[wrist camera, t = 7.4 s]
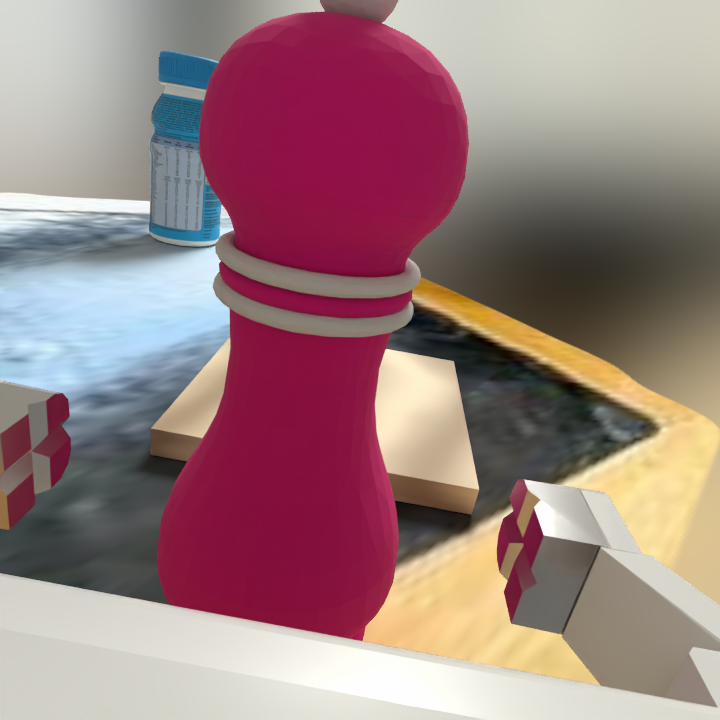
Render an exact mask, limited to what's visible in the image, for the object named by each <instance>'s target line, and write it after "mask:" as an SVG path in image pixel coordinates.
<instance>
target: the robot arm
mask: <svg viewBox="0 0 720 720" xmlns="http://www.w3.org/2000/svg"><path fill="white" fill-rule="evenodd" d="M68 418H69V404H68V399H67V398H66V397H65V396H64V394H63V393H59V392H54V391H49V390H44V389H39V388H35V387H30V386H25V385H20V384H15V383H10V382H6V381H2V380H0V528H2V529H8V530H10V529H11V528H12V527H13V526H14V525H15V524H16V523H17V522H18V521H19V520H20V519H21V518H22V517H23V516H24V515H25V514H26V513H27V512H28V511H29V510H30V509H31V508H32V507H33V506H34V505H35V494H37V493H40V492H43V491H45V490H48V489H51V488H52V487H53V486H54V485H55V484H56V483H57V482H58V480H59V479H60V478H61V477H62V475H63V473H64V471H65V469H66V467H67V465H68V462H69V456H70V451H71V442H70V437H69V435H68V434H67V433H66V431H65V430H64V428H63V427H62V426H61V425H62V424H63V423H64V422H65V421H66V420H67V419H68ZM510 500H511V503H512V507H513V510H514V511H513V512H512V513H510V514H509V515H508V516H506V517H505V518H504V519H503V521H502V525H501V528H500V531H499V536H498V544H497V561H498V566H499V571H500V573H501V574H502V575H503V576H504V577H505V578H506V579H507V580H508V582H507V585H506V587H505V590H504V594H505V599H506V603H507V607H508V612H509V616H510V621H511V624H516V625H520V626H525V627H530V628H534V629H539V630H543V631H548V632H553V633H557V634H562V635H563V636H562V637H563V639H564V640H565V641H566V642H567V644H568V645H569V646H570V647H571V649H572V650H573V651H574V652H575V654H576V655H577V656H578V657H579V659H580V660H581V661H582V662H583V664H584V665H585V666H586V667H587V668H588V670H589V671H590V672H591V673H592V675H593V676H594V677H595V678H596V680H597V681H598V682H599V683H600V685H601V686H599V685H594V684H589V683H583V682H578V681H573V680H567V679H562V678H556V677H551V676H546V675H540V674H535V673H530V672H524V671H519V670H514V669H508V668H503V667H498V666H492V665H487V664H482V663H476V662H471V661H466V660H460V659H455V658H450V657H444V656H439V655H434V654H428V653H423V652H417V651H412V650H407V649H401V648H396V647H391V646H385V645H380V644H375V643H369V642H364V641H359V640H353V639H348V638H343V637H337V636H332V635H327V634H321V633H316V632H311V631H305V630H300V629H295V628H289V627H284V626H278V625H273V624H268V623H262V622H257V621H252V620H246V619H241V618H236V617H230V616H225V615H220V614H214V613H209V612H204V611H198V610H193V609H188V608H182V607H177V606H172V605H166V604H161V603H156V602H150V601H145V600H139V599H134V598H129V597H123V596H118V595H113V594H107V593H102V592H97V591H91V590H86V589H81V588H75V587H70V586H65V585H59V584H54V583H49V582H43V581H38V580H33V579H27V578H22V577H17V576H11V575H6V574H1V573H0V720H720V606H719V605H718V604H717V603H715V602H714V601H713V600H711V599H710V598H708V597H707V596H706V595H704V594H703V593H701V592H700V591H699V590H698V589H696V588H695V587H693V586H692V585H690V584H689V583H688V582H687V581H685V580H684V579H682V578H681V577H680V576H678V575H677V574H676V573H674V572H673V571H672V570H670V569H669V568H667V567H666V566H665V565H663V564H662V563H661V562H659V561H658V560H657V559H655V558H654V557H652V556H649V555H644V554H642V552H641V551H640V549H639V547H638V545H637V544H636V542H635V540H634V538H633V537H632V535H631V533H630V531H629V530H628V528H627V526H626V525H625V523H624V521H623V519H622V518H621V516H620V514H619V512H618V511H617V509H616V507H615V506H614V504H613V502H612V500H611V499H610V497H609V496H608V495H607V494H605V493H604V492H600V491H593V490H586V489H579V488H573V487H567V486H560V485H554V484H548V483H542V482H535V481H529V480H522V479H519V480H518V481H517V483H516V484H515V486H514V488H513V491H512V494H511V497H510Z"/></svg>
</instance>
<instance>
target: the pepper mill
mask: <svg viewBox="0 0 720 720" xmlns="http://www.w3.org/2000/svg"><path fill="white" fill-rule="evenodd" d="M397 2H398V0H320V3H321V5H322V7H323V8H324V10H325V12H311V13H296V14H292V15H288V16H284V17H280V18H276V19H272V20H270V21H267V22H266V23H263V24H261V25H259V26H257V27H255V28H254V29H252V30H251V31H249V32H248V33H246V34H245V35H243V36H242V37H241V38H239V39H238V40H236V41H235V42H234V44H233V45H232V46H231V47H230V48H229V49H228V51H227V52H226V53H225V54H224V55H223V56H222V58H221V60H220V61H219V63H218V65H217V66H216V68H215V70H214V72H213V74H212V75H211V77H210V80H209V84H208V87H207V91H206V94H205V98H204V102H203V105H202V110H201V120H200V131H199V155H200V158H201V162H202V165H203V168H204V171H205V175H206V177H207V180H208V182H209V184H210V186H211V188H212V190H213V191H214V193H215V194H216V196H217V197H218V199H219V200H220V202H221V203H222V205H223V206H224V207H225V209H226V210H227V212H228V214H229V216H230V218H231V221H232V224H233V228H234V231H231V232H228V233H225V234H224V235H222V236H221V237H220V238H219V240H218V241H217V243H216V253H217V255H218V257H219V259H220V260H221V262H220V263H219V269H220V272H219V273H218V274H217V276H216V277H215V279H214V283H213V289H214V291H215V294H216V296H217V297H218V298H219V300H220V301H221V302H222V303H223V304H225V305H226V306H227V307H229V308H230V354H229V361H228V367H227V374H226V380H225V387H224V393H223V396H222V399H221V401H220V404H219V407H218V410H217V413H216V415H215V417H214V419H213V421H212V423H211V424H210V426H209V428H208V430H207V432H206V433H205V435H204V437H203V438H202V440H201V441H200V443H199V444H198V446H197V447H196V449H195V450H194V452H193V453H192V455H191V456H190V458H189V460H188V461H187V463H186V465H185V466H184V468H183V469H182V471H181V473H180V474H179V476H178V478H177V479H176V482H175V484H174V487H173V489H172V492H171V494H170V497H169V499H168V502H167V504H166V507H165V510H164V513H163V516H162V520H161V527H160V534H159V541H158V549H157V566H158V574H159V579H160V582H161V585H162V588H163V591H164V594H165V597H166V598H167V600H168V602H169V604H170V605H172V606H177V607H182V608H188V609H193V610H198V611H204V612H209V613H214V614H220V615H225V616H230V617H236V618H241V619H246V620H252V621H257V622H262V623H268V624H273V625H278V626H284V627H289V628H295V629H300V630H305V631H311V632H316V633H321V634H327V635H332V636H337V637H343V638H348V639H353V640H359V641H362V640H363V636H364V631H365V626H366V625H367V624H368V623H369V622H370V621H371V620H372V619H373V618H374V617H375V616H376V614H377V613H378V611H379V610H380V608H381V607H382V605H383V604H384V602H385V600H386V598H387V595H388V593H389V591H390V588H391V586H392V583H393V579H394V573H395V567H396V559H397V552H398V544H399V542H398V522H397V511H396V506H395V501H394V496H393V491H392V488H391V484H390V481H389V477H388V474H387V470H386V467H385V463H384V460H383V456H382V453H381V449H380V445H379V441H378V436H377V429H376V413H375V400H376V392H377V384H378V376H379V368H380V365H381V362H382V359H383V356H384V353H385V350H386V347H387V343H388V340H389V337H390V334H391V332H392V331H395V330H397V329H399V328H401V327H403V326H405V325H406V324H407V323H408V322H409V321H410V320H411V318H412V315H413V305H412V303H411V301H410V300H411V299H412V289H413V288H414V287H416V286H417V285H418V283H419V282H420V278H421V274H420V270H419V268H418V266H417V265H416V264H415V263H414V262H413V261H412V260H410V259H409V258H408V257H409V255H410V253H411V252H412V250H413V248H414V247H415V246H416V245H417V244H418V243H419V242H420V241H421V240H422V239H423V238H424V237H425V236H427V235H428V234H429V233H430V232H431V231H433V230H434V229H435V228H436V227H437V226H439V225H440V223H441V222H442V221H443V220H444V219H445V218H446V216H447V215H448V214H449V213H450V211H451V209H452V207H453V206H454V204H455V202H456V201H457V199H458V196H459V193H460V190H461V187H462V184H463V181H464V178H465V172H466V163H467V154H468V146H469V140H468V127H467V116H466V113H465V109H464V106H463V102H462V99H461V95H460V93H459V91H458V89H457V87H456V85H455V83H454V82H453V80H452V78H451V76H450V74H449V72H448V71H447V70H446V69H445V68H444V67H443V66H442V64H441V63H440V62H439V61H438V60H437V58H435V56H434V55H433V54H432V53H431V52H430V51H429V50H427V49H426V48H425V47H424V46H422V45H421V44H419V43H418V42H416V41H415V40H414V39H412V38H411V37H409V36H407V35H405V34H403V33H401V32H399V31H397V30H395V29H393V28H391V27H389V26H387V25H384V24H382V22H383V21H385V20H386V18H387V17H388V16H389V15H390V14H391V13H392V11H393V10H394V8H395V6H396V4H397Z"/></svg>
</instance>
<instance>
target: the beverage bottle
mask: <svg viewBox="0 0 720 720" xmlns="http://www.w3.org/2000/svg"><path fill="white" fill-rule="evenodd" d="M218 63H219V62H218V61H214V60H211V59H207V58H202V57H197V56H192V55H188V54H182V53H176V52H169V51H161V52H160V57H159V81H160V84H162V85H166V88H165V91H164V93H163V94H162V95H161V96H160V98H159V99H158V101H157V102H156V104H155V106H154V108H153V111H152V114H151V122H152V124H153V127H154V131H153V134H152V135H151V137H150V141H149V149H150V152H151V166H150V167H151V170H150V224H149V232H150V234H151V236H152V237H153V238H155V239H157V240H159V241H162V242H165V243H169V244H174V245H180V246H192V247H201V246H210V245H213V244H215V243H217V241H218V240H219V233H220V229H219V227H220V213H221V202H220V200H219V199H218V197H217V196H216V194H215V193H214V191H213V190H212V188H211V186H210V184H209V182H208V180H207V177H206V175H205V171H204V168H203V165H202V162H201V158H200V155H199V131H200V120H201V110H202V105H203V102H204V98H205V94H206V91H207V87H208V84H209V80H210V77H211V75H212V74H213V72H214V70H215V68H216V66H217V65H218Z"/></svg>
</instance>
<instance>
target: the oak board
mask: <svg viewBox="0 0 720 720" xmlns="http://www.w3.org/2000/svg"><path fill="white" fill-rule="evenodd" d="M229 354H230V338H229V339H228V340H227V341H226V343H225V344H224V345H223V346H222V347H221V348H220V349H219V351H218V352H217V353H216V354H215V355H214V356H213V358H212V359H211V360H210V361H209V362H208V363H207V364H206V366H205V367H204V368H203V369H202V370H201V371H200V373H199V374H198V375H197V376H196V377H195V378H194V379H193V381H192V382H191V383H190V384H189V385H188V386H187V388H186V389H185V390H184V391H183V392H182V393H181V395H180V396H179V397H178V398H177V399H176V400H175V401H174V403H173V404H172V405H171V406H170V407H169V408H168V410H167V411H166V412H165V413H164V414H163V415H162V416H161V418H160V419H159V420H158V421H157V422H156V423H155V425H154V426H153V427H152V428H151V455H155V456H160V457H166V458H171V459H176V460H182V461H188V460H189V458H190V456H191V455H192V453H193V452H194V450H195V449H196V447H197V446H198V444H199V443H200V441H201V440H202V438H203V437H204V435H205V433H206V432H207V430H208V428H209V426H210V424H211V423H212V421H213V419H214V417H215V415H216V413H217V410H218V407H219V404H220V401H221V399H222V396H223V393H224V387H225V380H226V374H227V367H228V361H229ZM375 413H376V429H377V436H378V441H379V445H380V449H381V453H382V456H383V460H384V463H385V467H386V470H387V474H388V477H389V481H390V484H391V488H392V491H393V496H394V500H395V501H401V502H406V503H411V504H417V505H422V506H427V507H433V508H438V509H443V510H449V511H454V512H459V513H465V514H470V515H472V512H473V508H474V505H475V502H476V498H477V495H478V492H479V487H478V481H477V476H476V471H475V466H474V461H473V456H472V451H471V446H470V441H469V436H468V431H467V426H466V421H465V416H464V411H463V406H462V401H461V396H460V391H459V386H458V381H457V376H456V371H455V366H454V361H449V360H443V359H438V358H432V357H427V356H421V355H416V354H411V353H405V352H400V351H394V350H389V349H386V350H385V353H384V356H383V359H382V362H381V365H380V368H379V376H378V384H377V392H376V400H375Z"/></svg>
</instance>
